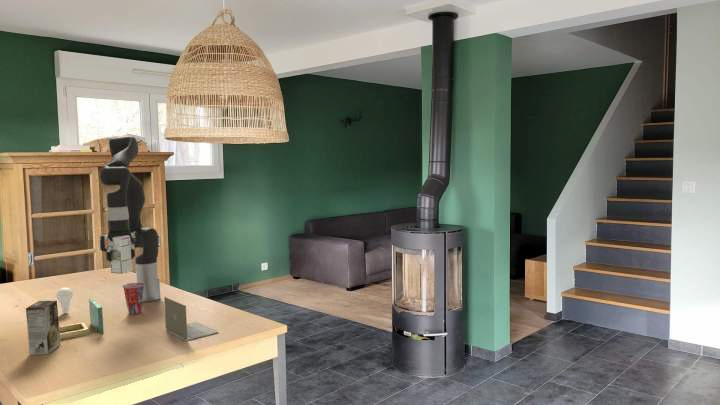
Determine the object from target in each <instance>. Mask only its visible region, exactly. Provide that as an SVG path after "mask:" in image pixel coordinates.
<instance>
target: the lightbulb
mask: <svg viewBox="0 0 720 405" xmlns="http://www.w3.org/2000/svg"><path fill="white" fill-rule="evenodd" d="M73 296H74V295H73V290H71V288H69V287H61V288H59V289H58V290H57V292H56V293H55V297H56V301H57V302H59V304H60V308H61V312H62V313H63V314H68V313H69V312H70V303H71V299H72V298H73Z"/></svg>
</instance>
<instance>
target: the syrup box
mask: <svg viewBox="0 0 720 405" xmlns="http://www.w3.org/2000/svg"><path fill="white" fill-rule="evenodd" d="M113 240H114V246H113V247H112V249H111V250H110V252H111V262H109V263H110V272H111V274H119V275H120V274H122V275H123V274H128V273H130V272H133V262H132V261H133V259H132V258H131V247H130V246H129V245H128V243H129V242H128V240H129V241H130V236H129V235H124V236H118V237H113ZM130 242H131V241H130ZM111 243H112V241H111V240H110V239H108V244H111Z"/></svg>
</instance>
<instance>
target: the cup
mask: <svg viewBox="0 0 720 405" xmlns="http://www.w3.org/2000/svg"><path fill="white" fill-rule="evenodd" d="M122 288H123V292H124V298H125V302H126V308H127V313H128V315H133V316H135V315H140V314H141V313H142V311H143V288H144V283H137V282H130V283H126V284H123V285H122Z"/></svg>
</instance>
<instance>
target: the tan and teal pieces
mask: <svg viewBox="0 0 720 405" xmlns="http://www.w3.org/2000/svg"><path fill="white" fill-rule="evenodd" d="M88 304H89V317H90V318H89V319H90V320H89V321H90V325H91V327H93V329H94V330H95V331H96V332H97V333H98V334H99V335H102V334H104V316H103V306H102V305H101V304H99V303H98V302H97V301H96V300H95V299H94V298H90V299H88ZM89 330H90V329H89V327H88V326H87V325H86V323H84V322H77V323H72V324H66V325H61V326H60V325H59V333H60V341H61V340H65V339H71V338H77V337H81V336H87V335H90V331H89Z"/></svg>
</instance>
